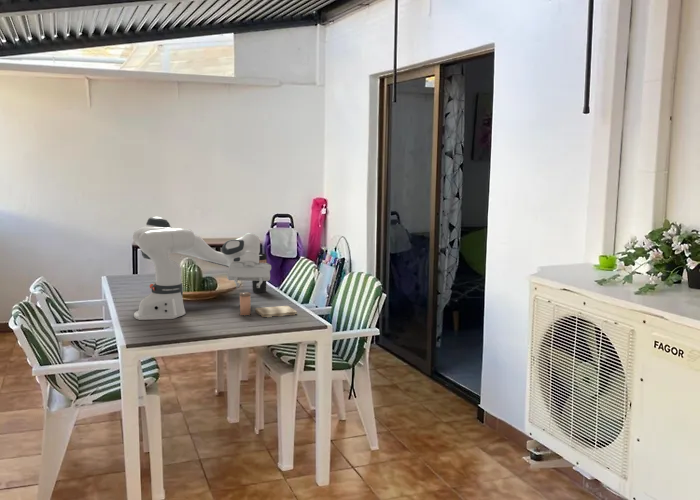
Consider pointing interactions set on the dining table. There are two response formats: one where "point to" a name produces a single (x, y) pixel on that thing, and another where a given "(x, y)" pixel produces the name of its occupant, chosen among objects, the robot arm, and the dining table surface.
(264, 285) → the travel mug
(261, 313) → the birch board
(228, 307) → the dining table surface
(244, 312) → the terracotta jar
